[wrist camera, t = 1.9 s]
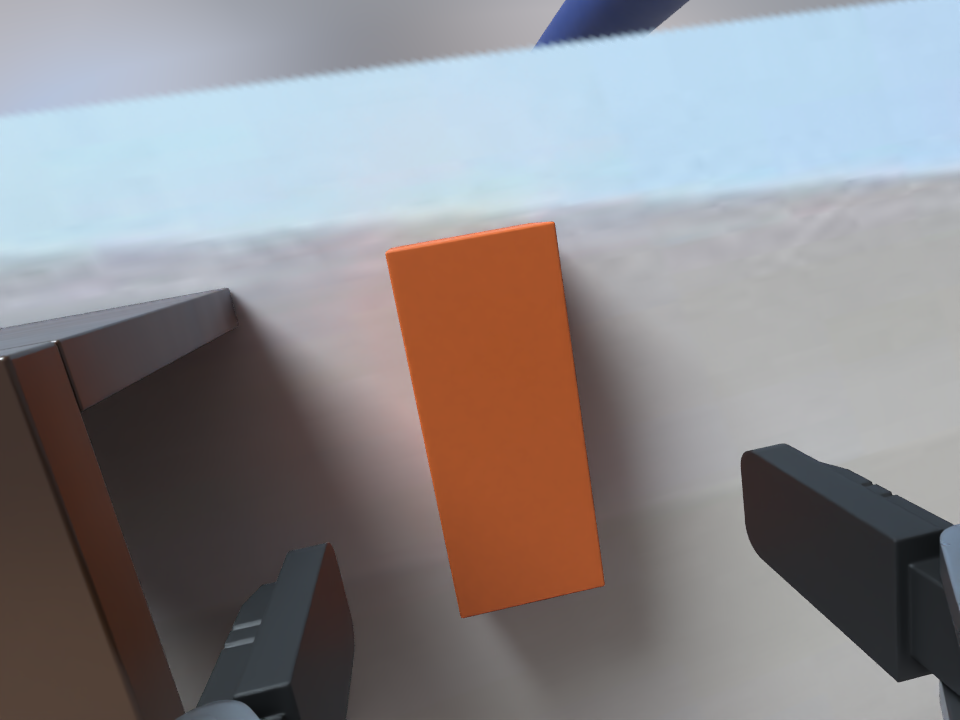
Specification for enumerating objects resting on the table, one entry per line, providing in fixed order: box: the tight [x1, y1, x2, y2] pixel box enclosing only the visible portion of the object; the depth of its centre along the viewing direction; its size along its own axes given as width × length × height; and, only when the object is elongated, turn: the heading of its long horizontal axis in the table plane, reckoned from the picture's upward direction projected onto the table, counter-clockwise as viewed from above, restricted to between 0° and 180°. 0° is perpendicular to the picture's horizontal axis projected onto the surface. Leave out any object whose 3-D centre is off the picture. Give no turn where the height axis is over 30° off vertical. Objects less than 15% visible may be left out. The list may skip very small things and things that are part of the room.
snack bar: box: [385, 222, 605, 618], centre depth 18 cm, size 11×4×3 cm, turn 10°
